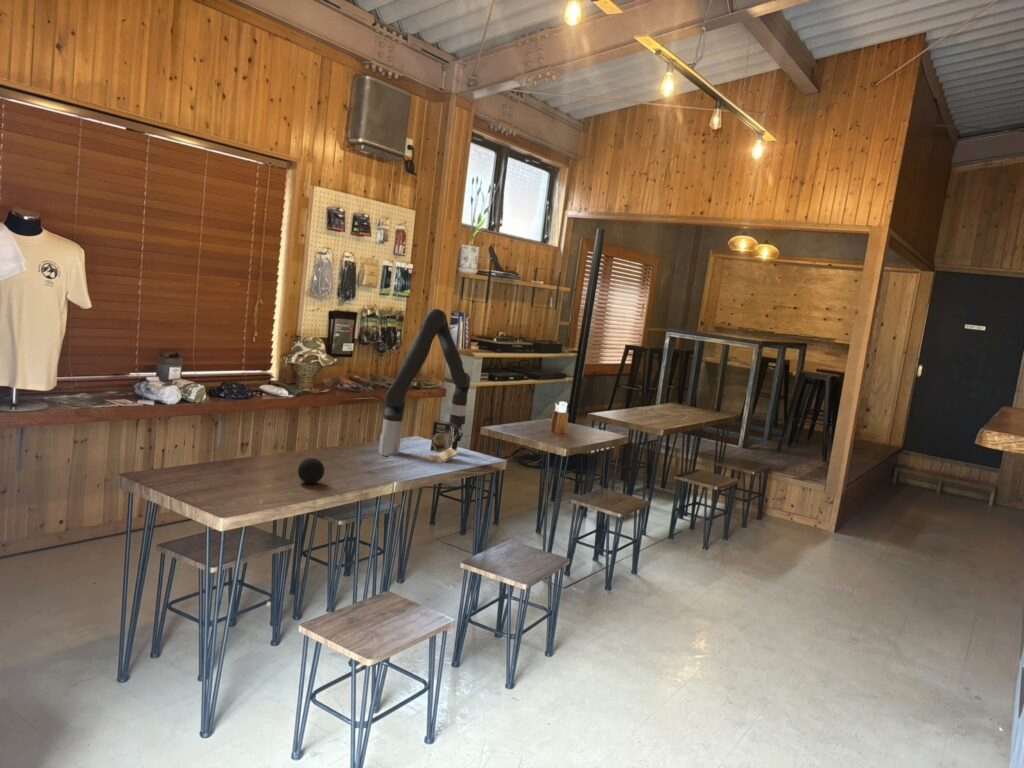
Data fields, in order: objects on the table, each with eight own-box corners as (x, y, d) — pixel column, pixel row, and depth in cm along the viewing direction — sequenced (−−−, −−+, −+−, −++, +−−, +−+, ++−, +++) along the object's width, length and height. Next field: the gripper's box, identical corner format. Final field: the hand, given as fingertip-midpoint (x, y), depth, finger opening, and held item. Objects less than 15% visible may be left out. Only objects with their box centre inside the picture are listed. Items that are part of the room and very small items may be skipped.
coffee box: (429, 452, 367) (433, 421, 365) (434, 450, 373) (438, 419, 371) (446, 455, 364) (449, 424, 363) (451, 453, 370) (454, 422, 369)
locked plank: (431, 463, 341) (431, 460, 341) (424, 457, 351) (424, 455, 351) (443, 463, 344) (443, 460, 344) (436, 457, 354) (436, 455, 354)
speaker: (328, 484, 286) (330, 460, 285) (306, 487, 278) (308, 462, 277) (313, 478, 292) (315, 454, 291) (291, 481, 285) (293, 456, 284)
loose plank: (443, 462, 344) (443, 460, 343) (436, 457, 354) (435, 455, 353) (460, 453, 346) (459, 451, 346) (453, 448, 356) (452, 446, 356)
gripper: (446, 410, 353) (442, 445, 355) (455, 415, 341) (451, 452, 343) (460, 411, 356) (457, 446, 358) (470, 416, 344) (466, 452, 346)
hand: (454, 449), depth 351 cm, fingers closed
